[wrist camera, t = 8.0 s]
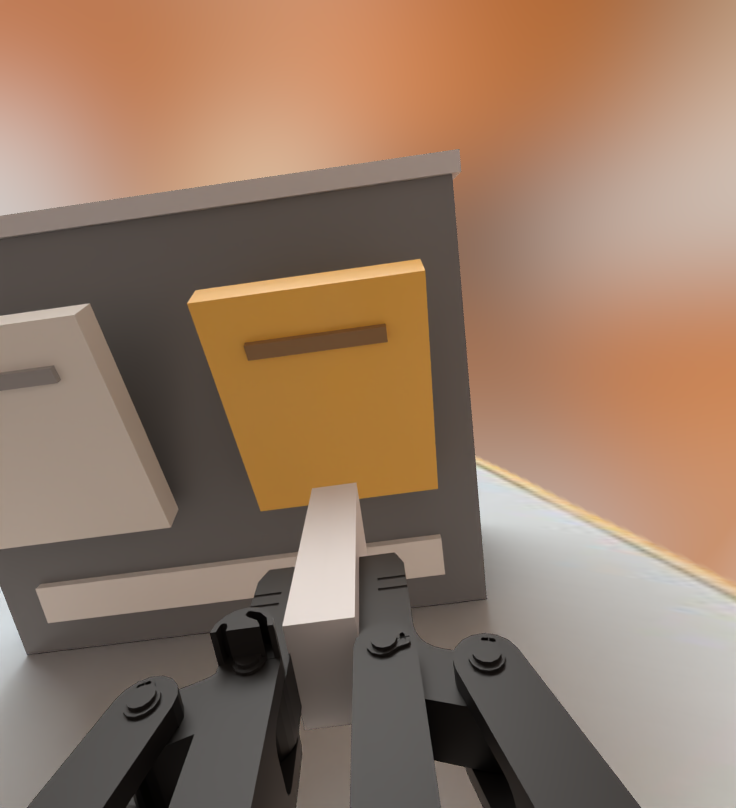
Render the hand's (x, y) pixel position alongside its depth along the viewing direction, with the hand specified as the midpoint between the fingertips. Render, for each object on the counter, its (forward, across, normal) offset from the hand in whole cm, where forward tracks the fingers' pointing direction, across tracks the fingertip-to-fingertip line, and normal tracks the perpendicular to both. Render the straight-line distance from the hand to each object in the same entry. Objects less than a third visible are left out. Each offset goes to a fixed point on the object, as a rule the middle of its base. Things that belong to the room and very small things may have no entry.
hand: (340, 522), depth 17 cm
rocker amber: (+6, 0, -2) cm, 6 cm away
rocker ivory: (+5, -12, -2) cm, 13 cm away
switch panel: (+11, -6, -9) cm, 15 cm away
